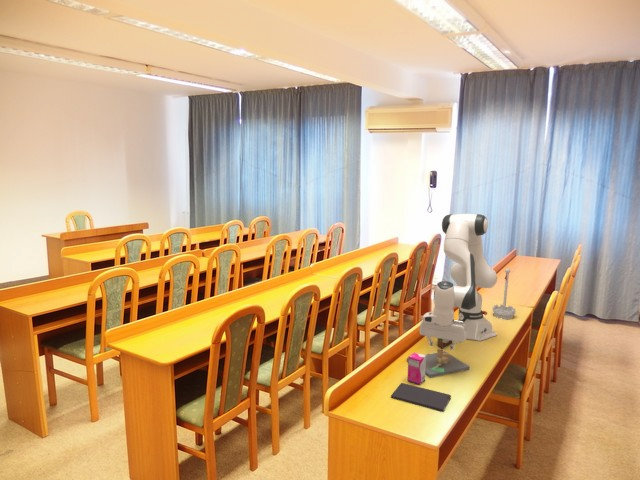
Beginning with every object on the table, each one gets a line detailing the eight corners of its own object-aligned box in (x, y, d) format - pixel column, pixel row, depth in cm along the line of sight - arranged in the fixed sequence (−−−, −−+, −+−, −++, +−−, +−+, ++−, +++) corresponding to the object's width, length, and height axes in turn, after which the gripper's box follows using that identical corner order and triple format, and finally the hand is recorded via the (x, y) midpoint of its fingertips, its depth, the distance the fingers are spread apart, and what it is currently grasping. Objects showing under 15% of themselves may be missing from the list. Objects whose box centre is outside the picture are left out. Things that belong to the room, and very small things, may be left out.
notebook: (390, 399, 193) (443, 413, 183) (390, 395, 193) (443, 409, 183) (401, 385, 204) (451, 398, 194) (401, 382, 204) (451, 395, 194)
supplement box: (413, 376, 212) (414, 351, 210) (425, 380, 208) (426, 355, 206) (406, 380, 207) (407, 356, 205) (419, 385, 204) (420, 360, 202)
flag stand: (495, 311, 300) (499, 264, 294) (517, 315, 292) (522, 267, 287) (489, 316, 289) (493, 268, 284) (511, 321, 282) (516, 272, 276)
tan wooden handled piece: (438, 357, 228) (439, 341, 226) (451, 360, 225) (452, 344, 223) (429, 369, 215) (430, 352, 214) (442, 372, 212) (444, 355, 211)
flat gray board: (444, 354, 235) (445, 350, 235) (470, 370, 219) (470, 366, 218) (406, 361, 227) (406, 357, 226) (430, 378, 210) (430, 374, 210)
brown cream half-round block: (443, 339, 253) (444, 321, 251) (453, 343, 249) (455, 325, 247) (430, 346, 245) (431, 327, 243) (440, 349, 240) (442, 331, 238)
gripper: (468, 319, 212) (466, 349, 214) (422, 312, 220) (421, 340, 223) (466, 324, 206) (463, 354, 209) (419, 316, 215) (417, 345, 218)
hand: (441, 347), depth 216 cm, fingers open, 8 cm apart
